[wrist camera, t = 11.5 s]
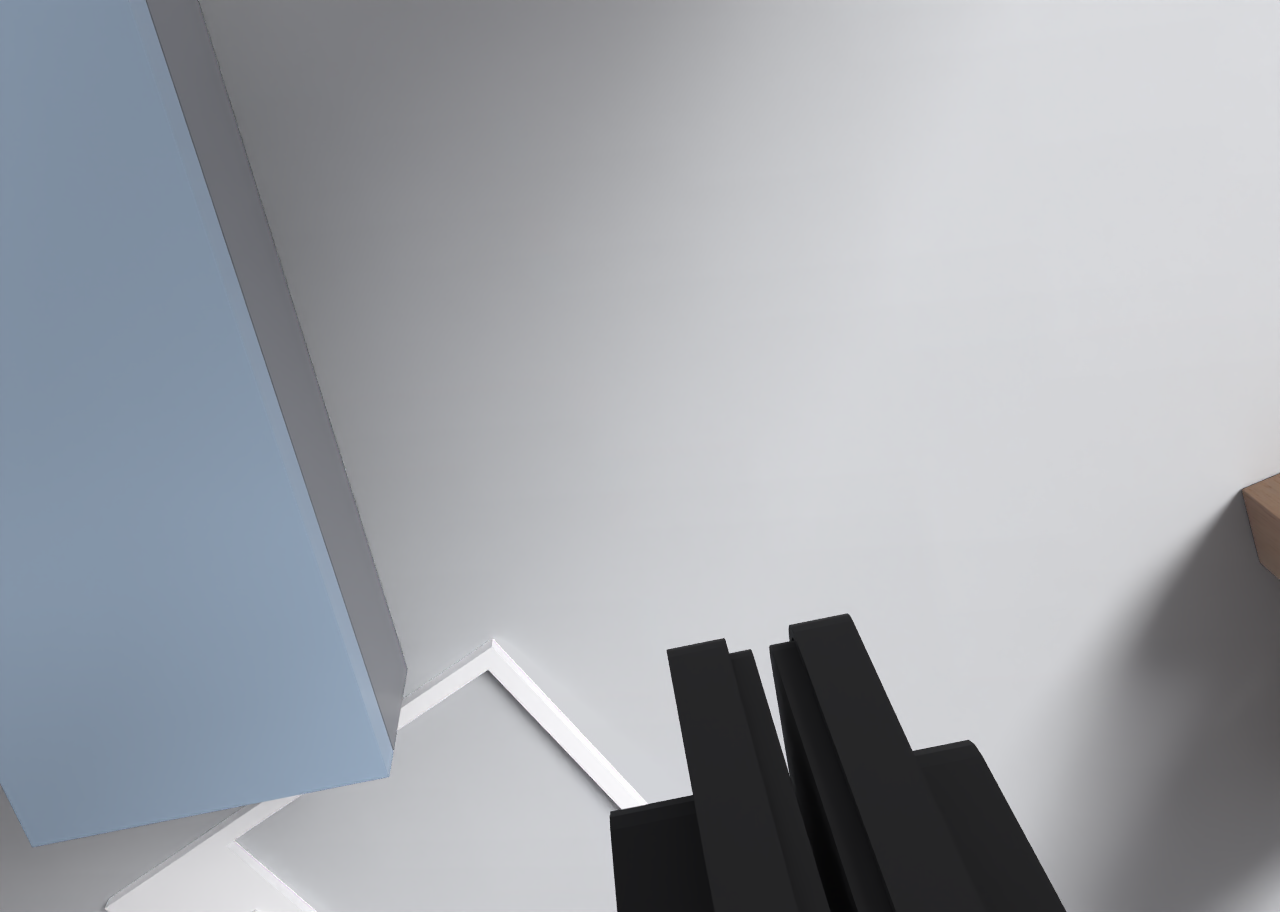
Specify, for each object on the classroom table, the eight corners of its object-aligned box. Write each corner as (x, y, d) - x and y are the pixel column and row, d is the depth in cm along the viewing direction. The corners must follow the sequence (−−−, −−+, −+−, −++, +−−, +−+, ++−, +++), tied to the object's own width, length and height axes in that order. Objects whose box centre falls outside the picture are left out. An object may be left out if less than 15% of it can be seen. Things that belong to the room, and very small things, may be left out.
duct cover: (-404, -69, 28) (-476, -69, 26) (102, -171, 28) (68, -179, 26) (29, 805, 39) (1, 853, 37) (396, 732, 39) (389, 777, 37)
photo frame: (102, 912, 44) (491, 649, 41) (112, 890, 45) (492, 631, 42) (369, 1120, 50) (731, 903, 46) (372, 1096, 51) (726, 881, 48)
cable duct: (-271, -78, 31) (-392, -78, 27) (147, -161, 31) (89, -174, 27) (95, 731, 42) (47, 819, 38) (407, 669, 42) (393, 750, 38)
